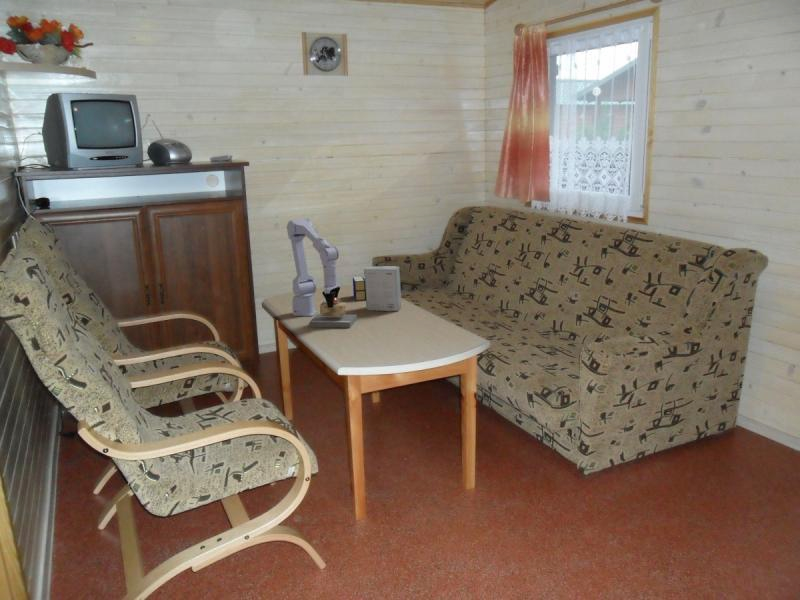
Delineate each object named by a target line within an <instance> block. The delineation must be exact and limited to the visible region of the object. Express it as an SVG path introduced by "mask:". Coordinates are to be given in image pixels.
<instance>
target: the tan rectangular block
mask: <svg viewBox="0 0 800 600" xmlns="http://www.w3.org/2000/svg"><path fill="white" fill-rule="evenodd" d="M346 309H347V307H346V302H343V301H342V302H341V301H340V302H339V301H337V304H336V305H333V308H328V306H327V302H326V301H323V302H322V303H320V305H319V312H320V316H330V317H343V315H347V312H346V311H347V310H346Z"/></svg>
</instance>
